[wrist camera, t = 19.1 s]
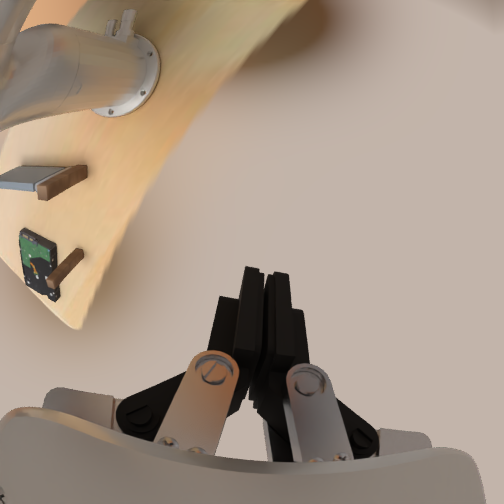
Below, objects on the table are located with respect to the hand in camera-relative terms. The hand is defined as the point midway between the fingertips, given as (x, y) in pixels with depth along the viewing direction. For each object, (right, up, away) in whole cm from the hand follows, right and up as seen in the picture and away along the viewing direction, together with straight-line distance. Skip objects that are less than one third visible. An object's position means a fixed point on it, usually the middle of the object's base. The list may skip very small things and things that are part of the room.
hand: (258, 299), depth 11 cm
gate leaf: (-35, +16, +24) cm, 46 cm away
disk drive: (-45, 0, +35) cm, 57 cm away
